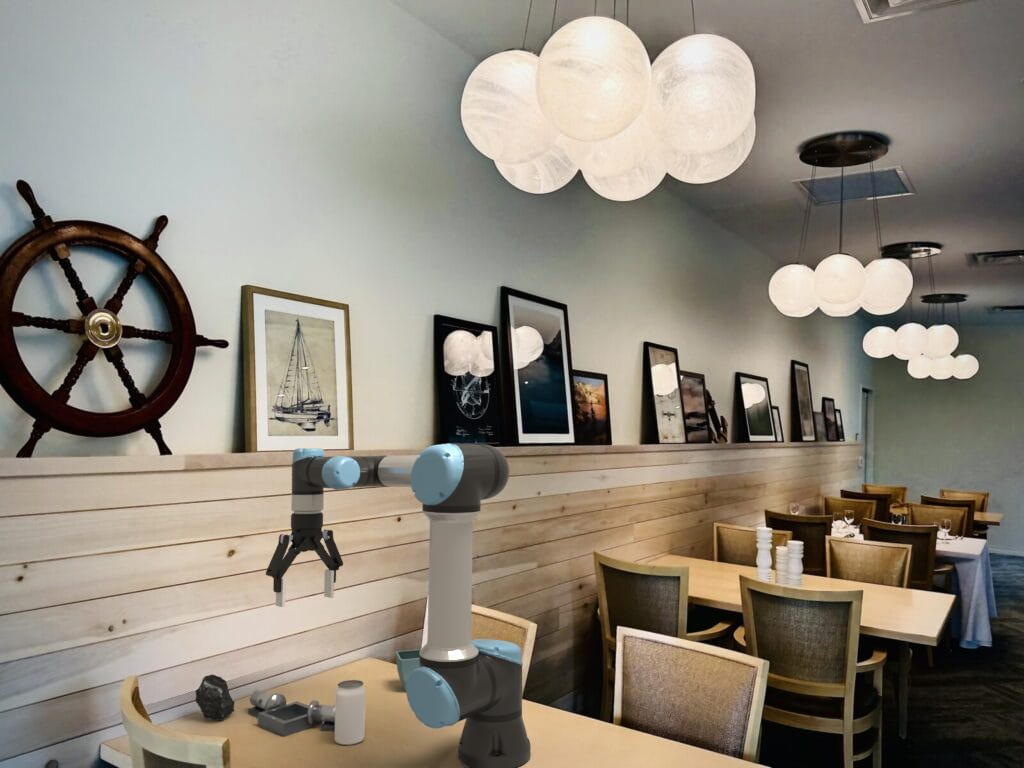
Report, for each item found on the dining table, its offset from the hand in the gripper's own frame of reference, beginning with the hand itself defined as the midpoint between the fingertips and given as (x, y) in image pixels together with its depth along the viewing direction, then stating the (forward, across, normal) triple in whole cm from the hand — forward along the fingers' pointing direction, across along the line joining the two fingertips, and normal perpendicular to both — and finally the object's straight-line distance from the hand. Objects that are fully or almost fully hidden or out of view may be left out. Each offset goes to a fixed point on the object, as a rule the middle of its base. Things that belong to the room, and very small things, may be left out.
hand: (305, 601), depth 176 cm
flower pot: (+28, -32, +3) cm, 43 cm away
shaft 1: (+27, +4, -10) cm, 29 cm away
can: (+28, +1, +18) cm, 33 cm away
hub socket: (+27, +4, 0) cm, 28 cm away
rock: (+28, +13, -17) cm, 35 cm away
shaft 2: (+27, -1, +9) cm, 29 cm away
